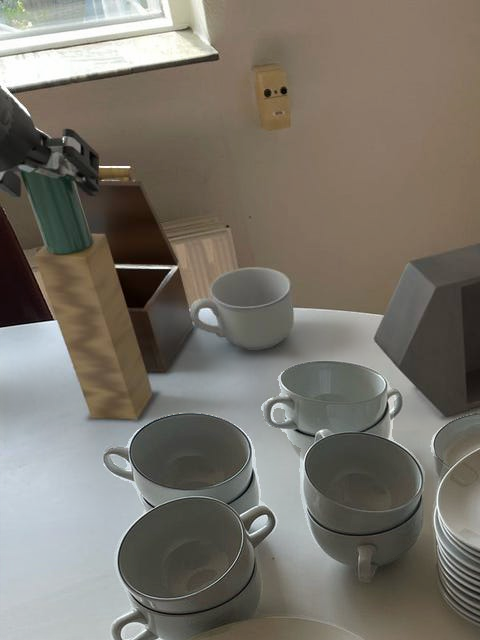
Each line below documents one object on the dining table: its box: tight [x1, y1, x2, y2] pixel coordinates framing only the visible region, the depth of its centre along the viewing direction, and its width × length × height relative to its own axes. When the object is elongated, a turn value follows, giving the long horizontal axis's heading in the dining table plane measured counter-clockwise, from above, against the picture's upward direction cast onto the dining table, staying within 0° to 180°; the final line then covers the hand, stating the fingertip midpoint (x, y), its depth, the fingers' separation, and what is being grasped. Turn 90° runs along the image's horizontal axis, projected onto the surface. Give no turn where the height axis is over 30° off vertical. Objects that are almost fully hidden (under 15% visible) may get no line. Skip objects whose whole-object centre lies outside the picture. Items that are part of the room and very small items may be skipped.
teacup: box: [189, 266, 295, 351], centre depth 137 cm, size 14×11×8 cm
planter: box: [373, 242, 480, 417], centre depth 123 cm, size 17×8×21 cm
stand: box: [33, 234, 154, 420], centre depth 121 cm, size 6×6×21 cm
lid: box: [76, 165, 179, 266], centre depth 132 cm, size 14×11×5 cm
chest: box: [114, 264, 195, 374], centre depth 136 cm, size 13×11×9 cm
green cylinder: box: [19, 153, 94, 255], centre depth 111 cm, size 5×5×9 cm
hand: (55, 188), depth 110 cm, fingers open, 8 cm apart
